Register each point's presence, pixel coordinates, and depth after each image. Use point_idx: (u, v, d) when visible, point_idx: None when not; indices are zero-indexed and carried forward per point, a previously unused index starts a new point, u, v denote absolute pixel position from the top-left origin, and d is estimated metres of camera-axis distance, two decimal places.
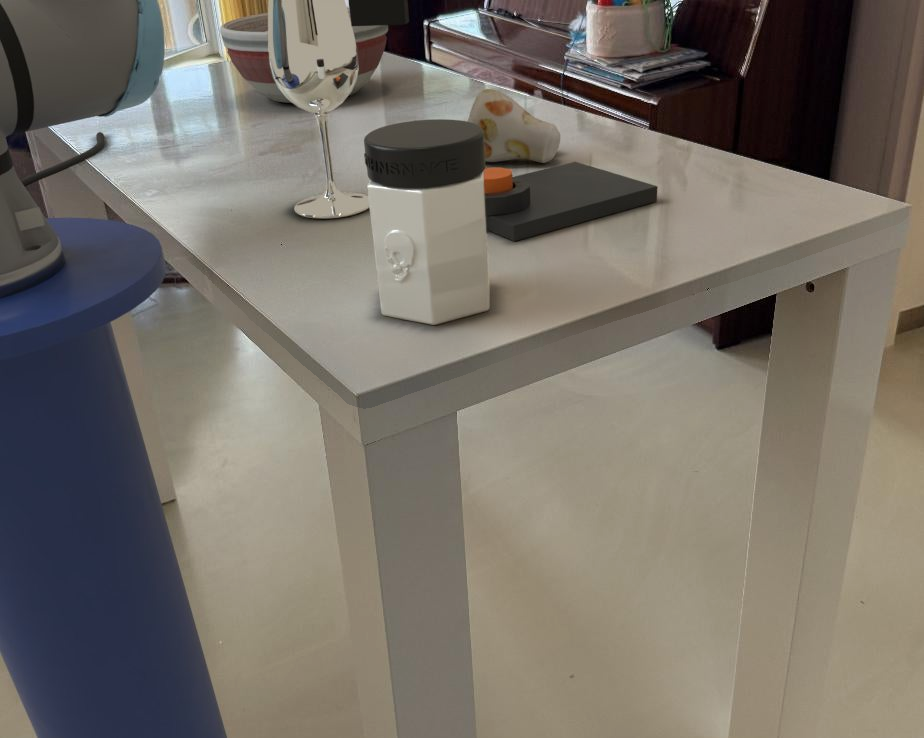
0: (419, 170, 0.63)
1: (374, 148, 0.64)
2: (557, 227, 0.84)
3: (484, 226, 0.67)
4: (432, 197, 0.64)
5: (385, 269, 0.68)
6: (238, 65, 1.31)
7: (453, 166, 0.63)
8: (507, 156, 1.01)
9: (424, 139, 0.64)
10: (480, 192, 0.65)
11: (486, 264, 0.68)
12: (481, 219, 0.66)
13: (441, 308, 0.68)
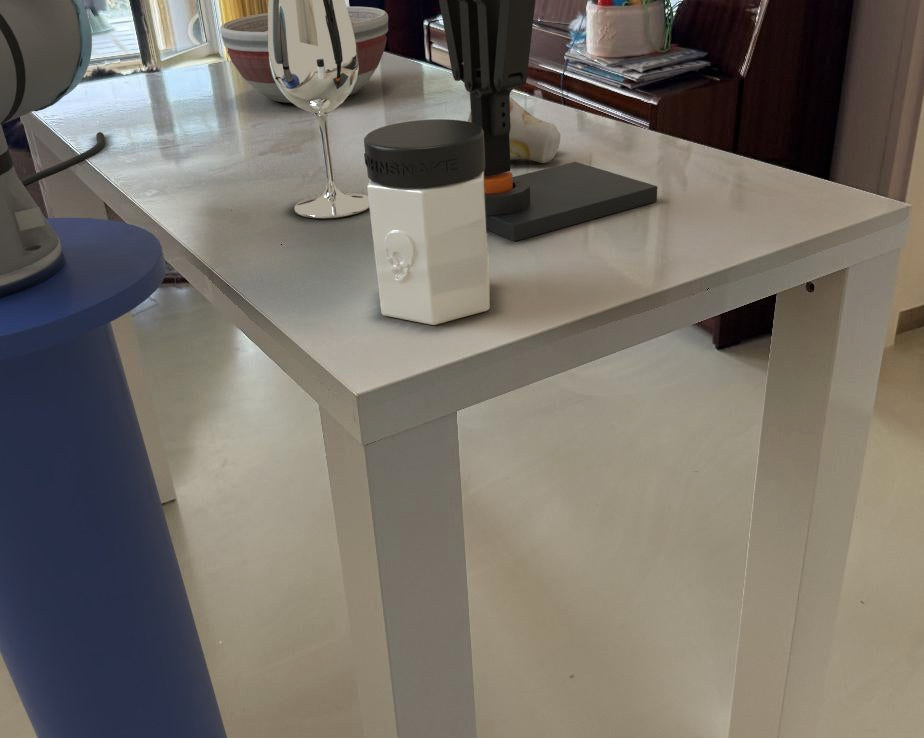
0: (419, 170, 0.63)
1: (374, 148, 0.64)
2: (557, 227, 0.84)
3: (484, 226, 0.67)
4: (432, 197, 0.64)
5: (385, 269, 0.68)
6: (238, 65, 1.31)
7: (453, 166, 0.63)
8: None
9: (424, 139, 0.64)
10: (480, 192, 0.65)
11: (486, 264, 0.68)
12: (481, 219, 0.66)
13: (441, 308, 0.68)
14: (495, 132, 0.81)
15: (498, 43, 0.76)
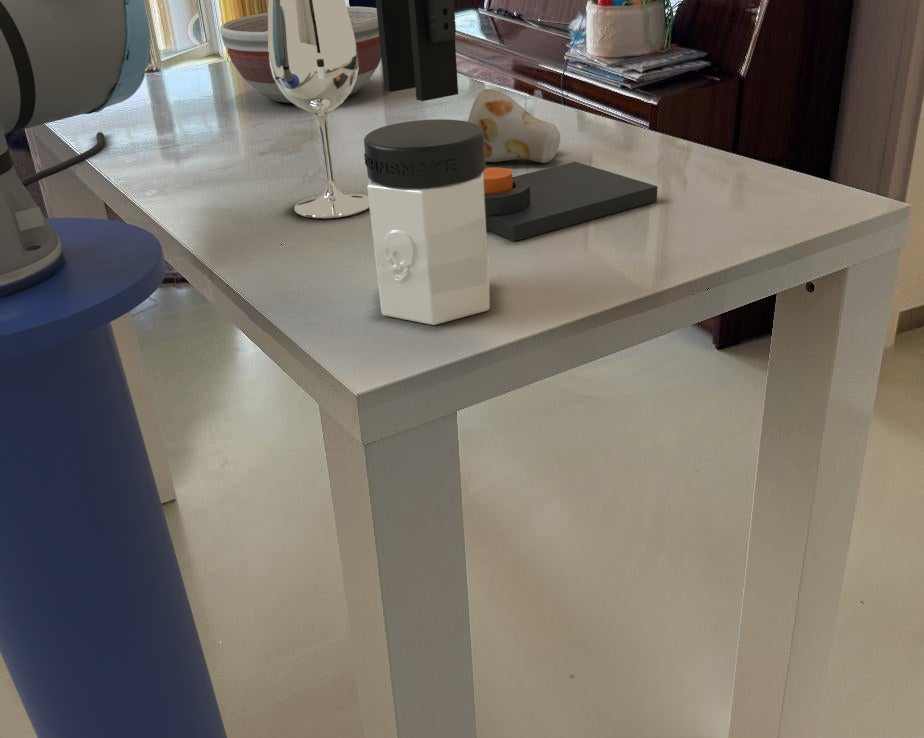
0: (419, 170, 0.63)
1: (374, 148, 0.64)
2: (557, 227, 0.84)
3: (484, 226, 0.67)
4: (432, 197, 0.64)
5: (385, 269, 0.68)
6: (238, 65, 1.31)
7: (453, 166, 0.63)
8: (507, 156, 1.01)
9: (424, 139, 0.64)
10: (480, 192, 0.65)
11: (486, 264, 0.68)
12: (481, 219, 0.66)
13: (441, 308, 0.68)
14: (434, 37, 0.59)
15: None
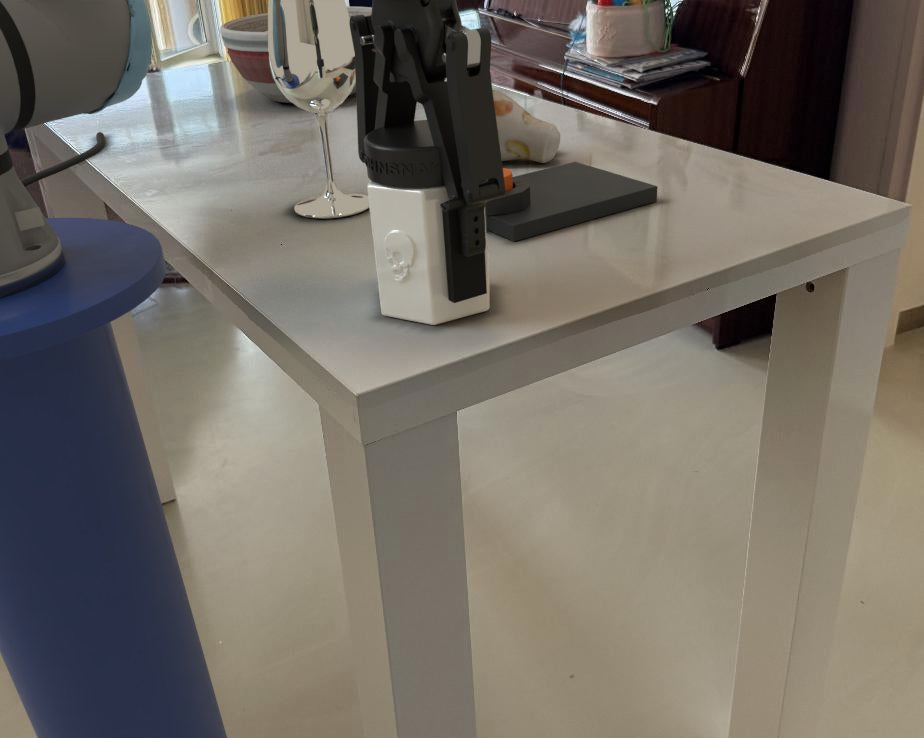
0: (419, 170, 0.63)
1: (374, 148, 0.64)
2: (557, 227, 0.84)
3: None
4: (432, 197, 0.64)
5: (385, 269, 0.68)
6: (238, 65, 1.31)
7: None
8: (507, 156, 1.01)
9: (424, 139, 0.64)
10: None
11: (486, 264, 0.68)
12: None
13: (441, 308, 0.68)
14: (466, 252, 0.65)
15: (458, 147, 0.60)
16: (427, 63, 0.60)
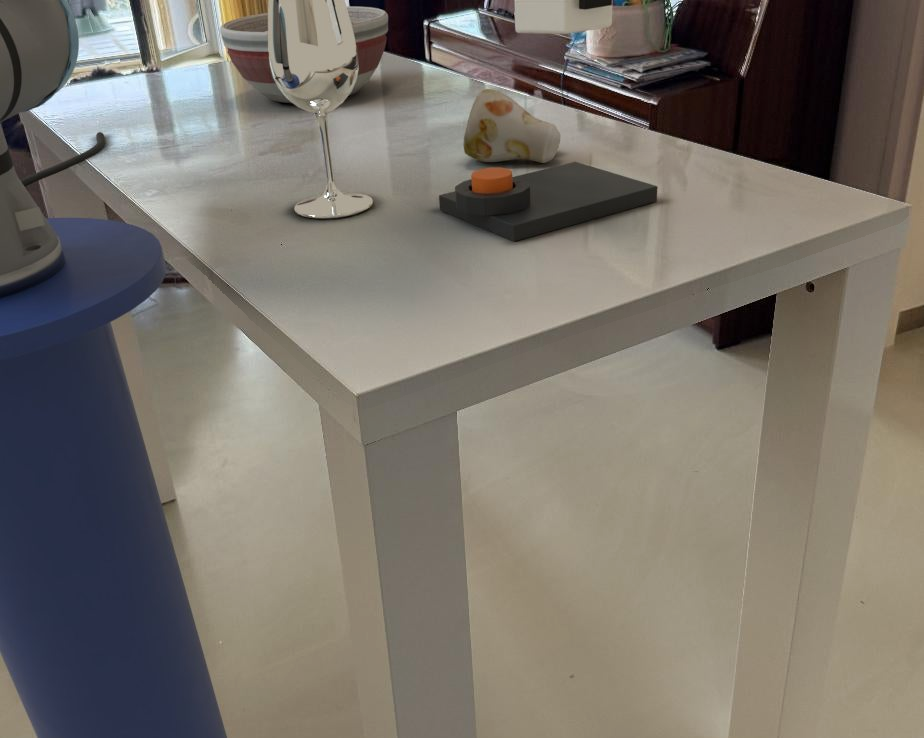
0: None
1: None
2: (557, 227, 0.84)
3: None
4: None
5: None
6: (238, 65, 1.31)
7: None
8: (507, 156, 1.01)
9: None
10: None
11: None
12: None
13: (572, 17, 0.77)
14: None
15: None
16: None
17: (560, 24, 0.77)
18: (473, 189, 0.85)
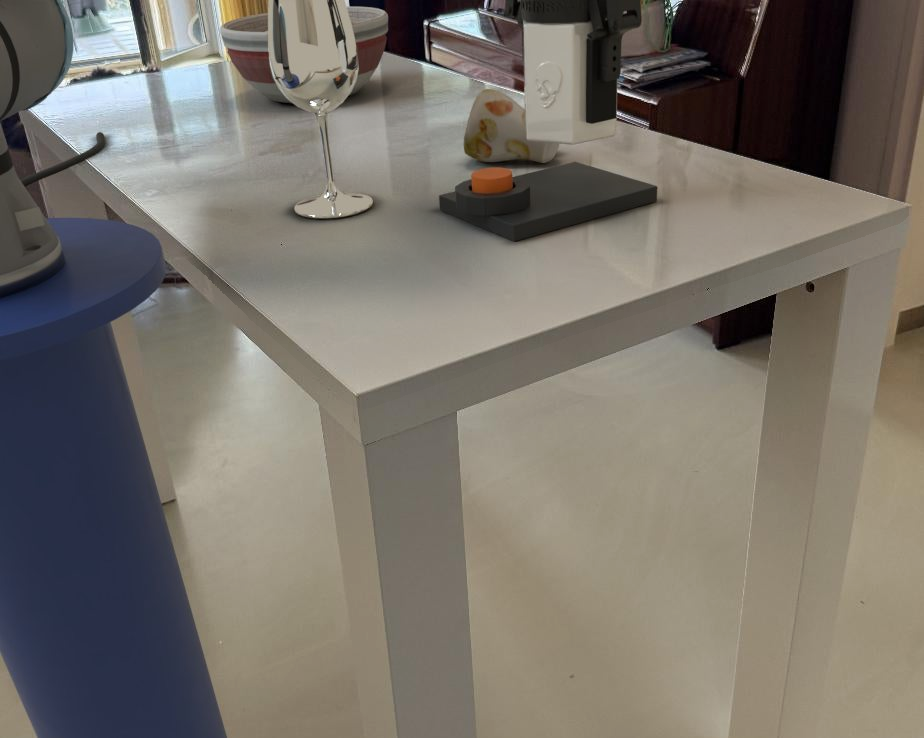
0: (571, 7, 0.78)
1: None
2: (557, 227, 0.84)
3: None
4: (580, 30, 0.79)
5: (534, 98, 0.83)
6: (238, 65, 1.31)
7: None
8: (507, 156, 1.01)
9: None
10: None
11: None
12: None
13: (580, 129, 0.83)
14: (605, 77, 0.80)
15: None
16: None
17: (568, 136, 0.84)
18: (473, 189, 0.85)
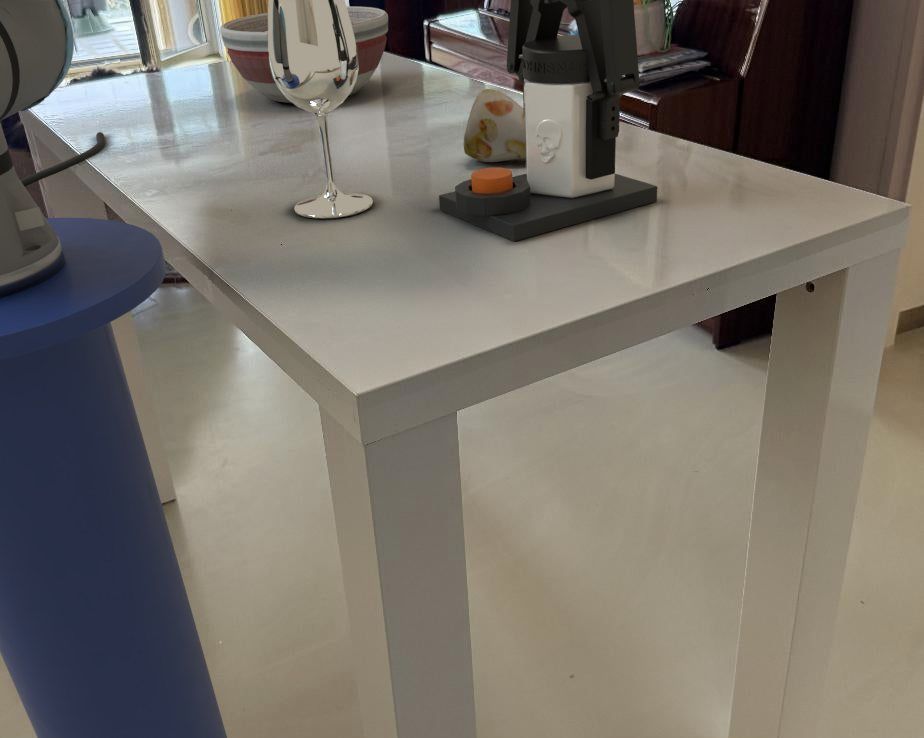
0: (571, 68, 0.81)
1: (534, 52, 0.82)
2: (557, 227, 0.84)
3: None
4: (579, 91, 0.82)
5: (534, 153, 0.86)
6: (238, 65, 1.31)
7: None
8: (507, 156, 1.01)
9: (573, 45, 0.82)
10: None
11: None
12: None
13: (579, 184, 0.86)
14: (604, 136, 0.83)
15: (605, 49, 0.78)
16: None
17: (568, 190, 0.86)
18: (473, 189, 0.85)
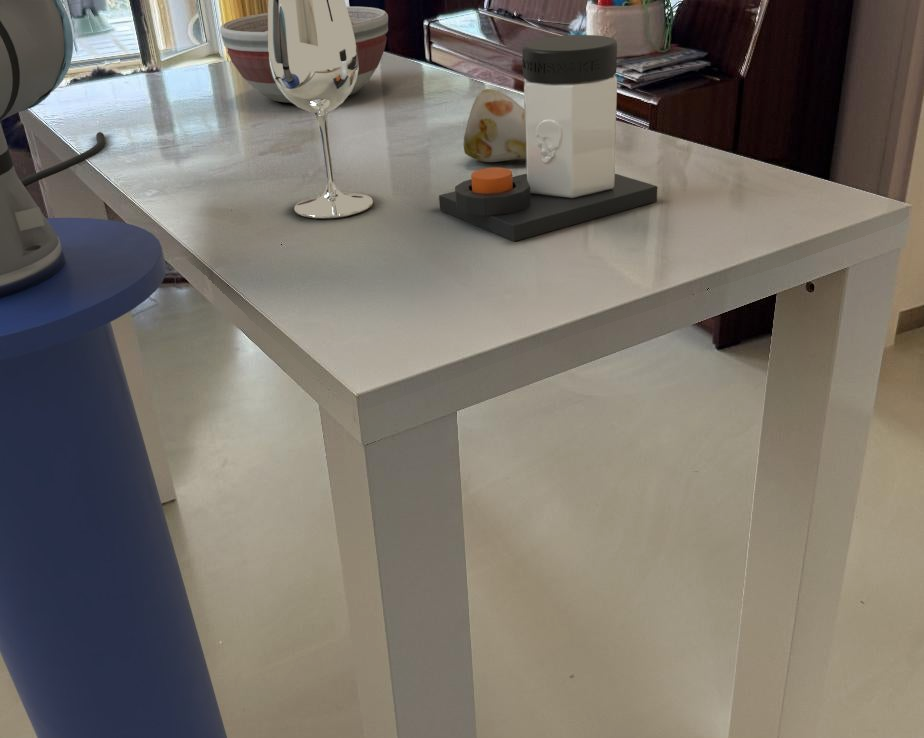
0: (571, 68, 0.81)
1: (534, 52, 0.82)
2: (557, 227, 0.84)
3: (615, 117, 0.84)
4: (579, 91, 0.82)
5: (534, 153, 0.86)
6: (238, 65, 1.31)
7: (596, 66, 0.81)
8: (507, 156, 1.01)
9: (573, 46, 0.82)
10: (614, 89, 0.83)
11: (614, 149, 0.86)
12: (613, 111, 0.84)
13: (579, 184, 0.86)
14: None
15: None
16: None
17: (568, 190, 0.86)
18: (473, 189, 0.85)
